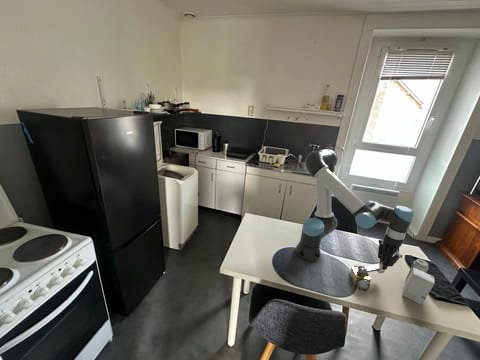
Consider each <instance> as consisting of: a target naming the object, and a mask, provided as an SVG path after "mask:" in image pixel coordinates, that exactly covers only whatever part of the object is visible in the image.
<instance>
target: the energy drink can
mask: <svg viewBox="0 0 480 360" xmlns="http://www.w3.org/2000/svg"><path fill="white" fill-rule="evenodd" d="M413 268H416V269H418V270H420V271H423V272H425V273H427V272H428V270H429V263H428V262H427V261H426V260H424V259H420V258H417V259H416V260H414V261H413V263H412V265H411V267H410V269H409V272H408V274H407V276H406V278H405V282H406V281H407V279H408V277H409V275H410V274H411V272H412V270H413Z"/></svg>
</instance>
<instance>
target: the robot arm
mask: <svg viewBox="0 0 480 360" xmlns="http://www.w3.org/2000/svg"><path fill="white" fill-rule="evenodd" d="M304 159H305V160H304V165H305V168H306V170H307V172H308V173H309V175H311V176H312V178H313V179H315V180H316V211H315V212H314V217H309V218H306V219H305V220H304V221H303V224H302V229H301V234H300V239H299V242H298V243H297V245H296V246H295V251H294V252H295V255H296V254H297V255H296V256H297V257H298V258H299V259H300V260H302V261H304V262H306V263H316V262H319V261H320V258H321V248H320V246H321V242H322V239H323V238H325V237H326V236H328V235H329V234H331V233H332V232H334V231H335V230H336V228H337V226H338V219H337V218H336V216H335V214H334V212H333V211H332V195H333V196H334V197H335V198H336V199H337V201H339V202H340V203H341V204H342V205H343V206H344V207H345V208H346V209H347V210H348V211H349V212H350V213H351V214H352V216H354V217H355V218H354V219H355V220H354V221H355V224H356V225H357V226H358V227H360V228H362V229H364V230H365V229H371V228H372V227H373V226H375V225H376V224H377V223H379V221H380V220H381V221H384V222H386V223H388V225H387V228H386V230H385V234H384V237H383V239H379V240H378V250H377V251H378V252H377V258H378V259H379V263H378V264H379V269H378V271H376V272H377V273H378V274H385V271H386V270H388V267H393V266H394V265H395V264H396V263H397V262H398V261H399V259H402V258H403V254H400V248H401V246H402V245H403V243H404V239H405V237H406V235H407V232H408V230H409V227H411V226H410V225H411V223H412V221H413V217H414V215H415V213H414V210H413V209H412V208H409V207H408V206H406V205H405V206H403V205H395V206H394V207H391V206H388V205H385V204H383V203H380V202H377V201H374V200H367V201H366V203H364V202H363V201H362V200H361V198H359V196H357V195H356V194H355V193H354V192H353V191H352V190H351V189H350V188H349V187H348V186H347V185H345V184H344V182H343V181H342V180H341V179H339V178H338V176H336V175H335V174H334V173H335V166H336V165H337V164H338V155H337V154H336V152H335V151H334V150H332V149H325V148H324V149H319V150H315V151H314V150H313V151H312V152H309V153H308V154H307V155H306V157H305V158H304Z"/></svg>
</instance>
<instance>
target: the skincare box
mask: <svg viewBox="0 0 480 360" xmlns="http://www.w3.org/2000/svg"><path fill="white" fill-rule="evenodd" d="M434 285H435V276H433V275H432V274H428V273H427V272H426V273H425V272H423V271H420V270H418V269H416V268H413V270H412V272H411V274H410V275H409V277H408V279H407V281H406V280H405V283H404V285H403V287H402V292H401V296H402V297H405V298H407V299H409V300H411V301H414V302H415V303H417V304H419V305H421V306H422V305H423V304H424V302H425V300H426V298H427V297H428V295H429V293H430V292H431V290H432V288H433V287H434Z"/></svg>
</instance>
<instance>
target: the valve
mask: <svg viewBox="0 0 480 360" xmlns="http://www.w3.org/2000/svg"><path fill="white" fill-rule="evenodd" d="M359 266H360V265H353V266H352V267H351V269H350V272H349V273H350V274H349V276H350V279H351V280H352V283H353V285H354V286H357V287H358V288H360V289H359V290H361V291H362V292H367V291H369V289H370V287H371V281H372V278H371V276H370V274H369V272H367V274H366V275H362V274H360V273H359V272H358V271H357V269H358V267H359Z"/></svg>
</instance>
